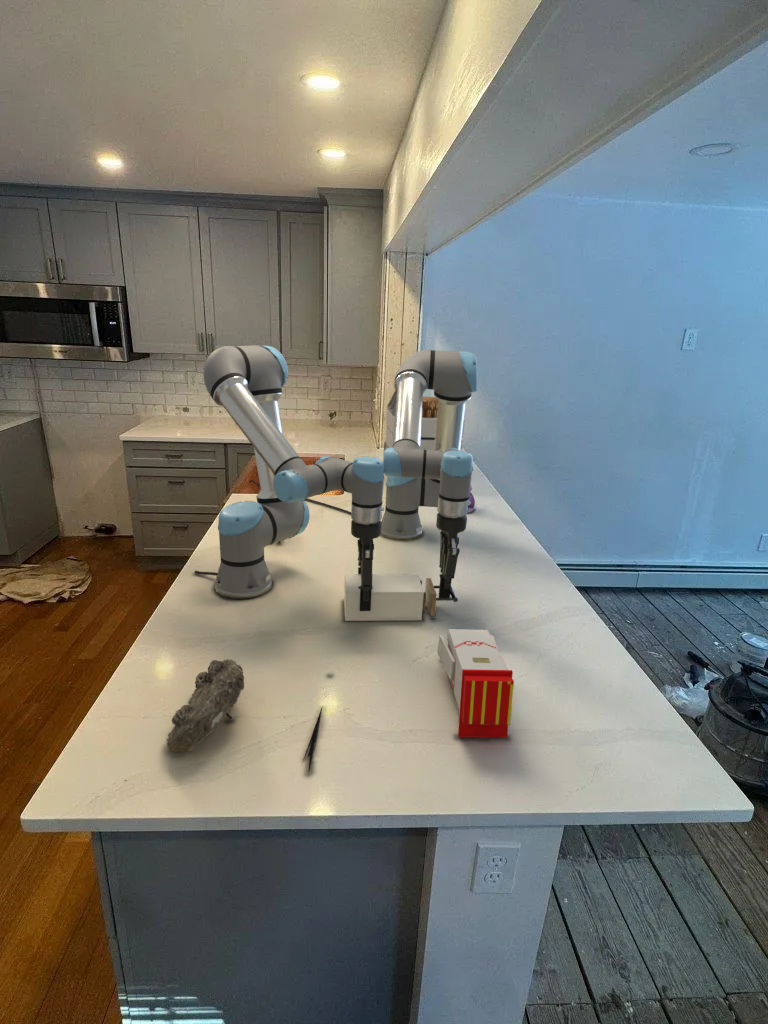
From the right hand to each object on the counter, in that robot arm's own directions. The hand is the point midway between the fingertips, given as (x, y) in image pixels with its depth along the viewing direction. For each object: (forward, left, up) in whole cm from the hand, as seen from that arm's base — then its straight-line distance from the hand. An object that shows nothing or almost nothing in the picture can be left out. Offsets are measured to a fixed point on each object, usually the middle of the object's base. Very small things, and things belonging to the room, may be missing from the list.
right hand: (444, 597), depth 149 cm
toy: (+27, -20, -4) cm, 34 cm away
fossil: (+2, -66, -4) cm, 66 cm away
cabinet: (-9, -13, -4) cm, 17 cm away
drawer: (-5, -8, -3) cm, 10 cm away
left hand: (-12, -17, 0) cm, 21 cm away
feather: (+15, -50, -4) cm, 52 cm away
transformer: (-99, +87, -4) cm, 132 cm away
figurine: (-51, +65, -4) cm, 82 cm away
